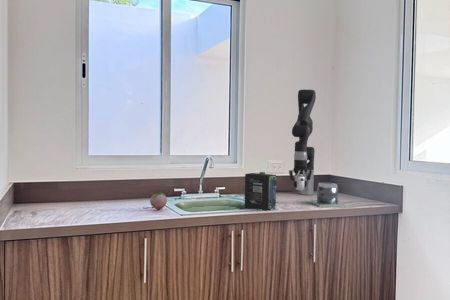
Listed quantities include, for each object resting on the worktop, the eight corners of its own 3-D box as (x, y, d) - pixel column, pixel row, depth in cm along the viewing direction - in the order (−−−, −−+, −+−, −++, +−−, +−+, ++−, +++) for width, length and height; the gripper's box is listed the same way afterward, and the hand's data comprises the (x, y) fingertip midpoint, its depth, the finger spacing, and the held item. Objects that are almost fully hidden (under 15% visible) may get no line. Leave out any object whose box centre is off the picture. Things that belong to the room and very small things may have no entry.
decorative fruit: (156, 208, 208) (156, 189, 207) (169, 209, 204) (169, 190, 204) (146, 211, 199) (146, 192, 199) (159, 212, 196) (160, 193, 195)
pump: (294, 189, 229) (294, 173, 228) (302, 189, 229) (302, 173, 229) (298, 190, 222) (298, 174, 222) (306, 190, 223) (306, 174, 222)
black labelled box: (270, 211, 203) (271, 173, 202) (242, 207, 214) (243, 171, 213) (277, 209, 210) (278, 172, 209) (250, 205, 221) (250, 170, 220)
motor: (309, 202, 233) (309, 182, 232) (334, 202, 235) (334, 181, 235) (319, 207, 217) (320, 185, 217) (346, 206, 219) (346, 185, 219)
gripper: (309, 158, 230) (309, 186, 231) (287, 158, 228) (286, 186, 229) (314, 159, 223) (313, 188, 224) (290, 159, 221) (290, 188, 222)
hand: (300, 187), depth 227 cm, fingers closed on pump, 5 cm apart
